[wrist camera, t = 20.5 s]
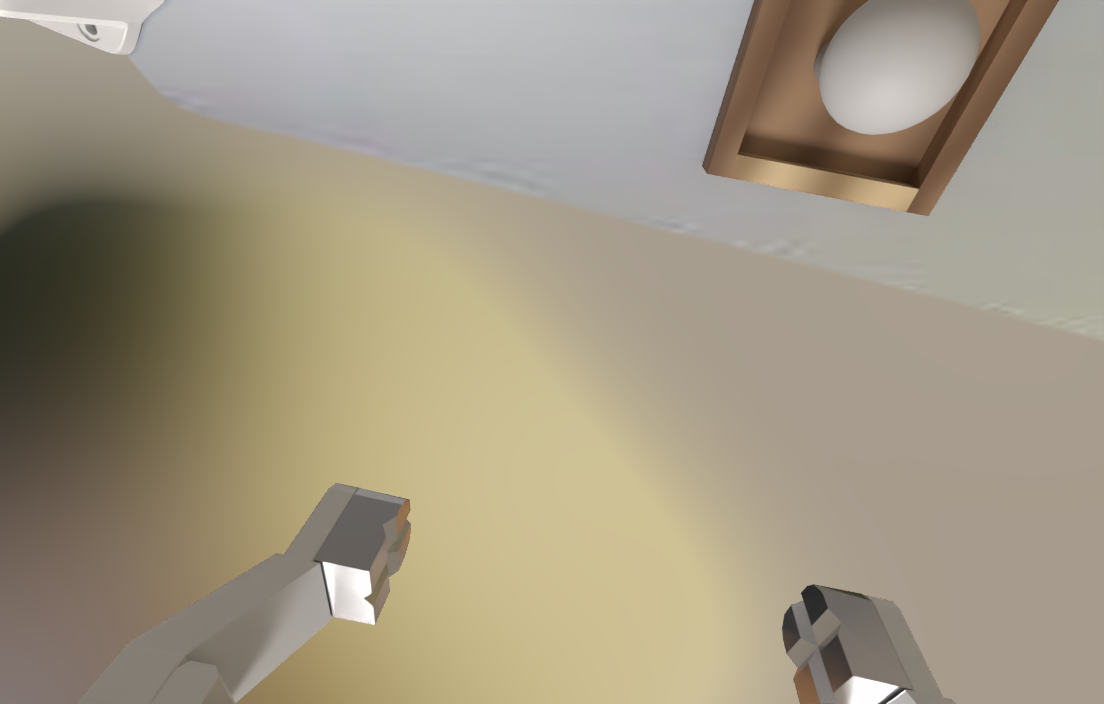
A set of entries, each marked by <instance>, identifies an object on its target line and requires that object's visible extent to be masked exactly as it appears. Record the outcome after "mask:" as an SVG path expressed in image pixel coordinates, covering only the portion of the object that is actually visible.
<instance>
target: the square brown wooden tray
mask: <svg viewBox="0 0 1104 704" xmlns="http://www.w3.org/2000/svg"><path fill="white" fill-rule="evenodd" d="M867 1H868V0H754V4H753V7H752V10H751V13H750V16H749V19H748V23H747V26H746V29H745V32H744V35H743V38H742V41H741V45H740V48H739V51H738V54H737V57H736V60H735V64H734V67H733V70H732V73H731V76H730V79H729V83H728V86H727V89H726V92H725V95H724V98H723V102H722V105H721V108H720V111H719V114H718V117H717V121H716V124H715V127H714V130H713V133H712V136H711V140H710V143H709V146H708V149H707V152H706V155H705V159H704V162H703V165H702V166H703V168H704V170H705V171H706V173H707V174H712V175H717V176H722V177H728V178H733V179H738V180H743V181H748V182H754V183H759V184H764V185H769V186H774V187H780V188H785V189H790V190H795V191H800V192H806V193H811V194H816V195H821V196H826V197H832V198H837V199H842V200H847V201H852V202H858V203H863V204H868V205H873V206H878V207H884V208H889V209H894V210H899V211H904V212H910V213H915V214H920V215H925V216H929V214H930V213H931V211H932V210H933V208H934V206H935V205H936V203H937V201H938V200H939V198H940V196H941V195H942V193H943V191H944V190H945V188H946V186H947V185H948V183H949V181H950V180H951V178H952V176H953V175H954V173H955V171H956V170H957V168H958V166H959V165H960V163H961V162H962V160H963V158H964V157H965V155H966V153H967V152H968V150H969V148H970V147H971V145H972V143H973V142H974V140H975V138H976V137H977V135H978V133H979V132H980V130H981V128H982V127H983V125H984V123H985V122H986V120H987V119H988V117H989V115H990V114H991V112H992V110H993V109H994V107H995V105H996V104H997V102H998V100H999V99H1000V97H1001V95H1002V94H1003V92H1004V90H1005V89H1006V87H1007V85H1008V84H1009V82H1010V80H1011V79H1012V77H1013V75H1014V74H1015V72H1016V71H1017V69H1018V67H1019V66H1020V64H1021V62H1022V61H1023V59H1024V57H1025V56H1026V54H1027V52H1028V51H1029V49H1030V47H1031V46H1032V44H1033V42H1034V41H1035V39H1036V37H1037V36H1038V34H1039V32H1040V31H1041V29H1042V28H1043V26H1044V24H1045V23H1046V21H1047V19H1048V18H1049V16H1050V14H1051V13H1052V11H1053V9H1054V8H1055V6H1056V4H1057V3H1058V1H1059V0H968V1H969V2H970V3H971V5H972V6H973V8H974V9H975V11H976V14H977V17H978V19H979V24H980V34H981V35H980V44H979V50H978V54H977V57H976V60H975V64H974V66H973V68H972V70H971V72H970V74H969V76H968V78H967V79H966V81H965V82H964V84H963V85H962V87H961V88H960V90H959V91H958V92H957V93H956V94H955V95H954V97H953V98H952V99H951V100H950V101H949V102H948V103H947V104H946V105H945V106H943V107H942V108H941V109H940V110H939V111H938V112H936V113H935V114H933V115H932V116H930V117H929V118H927V119H925V120H924V121H922V122H920V123H918V124H916V125H913V126H911V127H909V128H907V129H904V130H901V131H897V132H893V133H887V134H877V135H870V134H861V133H858V132H855V131H852V130H849V129H846V128H845V127H843V126H842V125H840V124H839V123H837V122H836V121H835V120H834V119H833V118H832V117H831V115H830V114H829V113H828V111H827V109H826V107H825V105H824V103H823V101H822V97H821V93H820V85H819V81H818V80H817V78H816V76H815V74H814V62H815V59H816V56H817V54H818V52H819V51H820V49H821V48H822V47H823V46H824V45H825V44H826V43H828V42H829V41H831V40H832V38H833V36H834V35H835V34H836V32H837V31H838V29H839V28H840V27H841V25H842V24H843V23H844V22H845V21H846V20H847V19H848V18H849V17H850V16H851V15H852V14H853V13H854V12H855V11H856V10H857V9H858V8H860V7H861V6H862V5H863V4H865V3H866V2H867Z"/></svg>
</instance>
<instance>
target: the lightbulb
mask: <svg viewBox="0 0 1104 704" xmlns="http://www.w3.org/2000/svg"><path fill="white" fill-rule="evenodd" d="M980 35H981V34H980V24H979V19H978V17H977V14H976V11H975V9H974V8H973V6H972V5H971V3H970V2H969V1H968V0H868V1H867V2H866V3H865V4H863V5H862V6H861V7H860V8H858V9H857V10H856V11H855V12H854V13H853V14H852V15H851V16H850V17H849V18H848V19H847V20H846V21H845V22H844V23H843V24H842V25H841V27H840V28H839V29H838V31H837V32H836V34H835V35H834V36H833V38H832V40H831V41H829V42H828V43H826V44H825V45H824V46H823V47H822V48H821V49H820V51H819V52H818V54H817V56H816V59H815V62H814V74H815V76H816V78H817V80H818V81H819V85H820V93H821V97H822V101H823V103H824V105H825V107H826V109H827V111H828V113H829V114H830V115H831V117H832V118H833V119H834V120H835V121H836V122H837V123H839V124H840V125H842V126H843V127H845V128H846V129H849V130H852V131H855V132H858V133H861V134H870V135H877V134H887V133H893V132H897V131H901V130H904V129H907V128H909V127H911V126H913V125H916V124H918V123H920V122H922V121H924V120H925V119H927V118H929V117H930V116H932V115H933V114H935V113H936V112H938V111H939V110H940V109H941V108H942V107H943V106H945V105H946V104H947V103H948V102H949V101H950V100H951V99H952V98H953V97H954V95H955V94H956V93H957V92H958V91H959V90H960V88H961V87H962V85H963V84H964V82H965V81H966V79H967V78H968V76H969V74H970V72H971V70H972V68H973V66H974V64H975V60H976V57H977V54H978V50H979V44H980Z"/></svg>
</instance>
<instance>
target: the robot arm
mask: <svg viewBox="0 0 1104 704" xmlns="http://www.w3.org/2000/svg"><path fill="white" fill-rule="evenodd" d="M164 1H165V0H0V16H3V17H11V18H23V19H27V20H30V21H32V22H34V23H37V24H39V25H42V26H44V27H47V28H49V29H52V30H54V31H57V32H59V33H62V34H64V35H66V36H69V37H71V38H74V39H76V40H79V41H81V42H84V43H86V44H89V45H91V46H94V47H96V48H99V49H101V50H104V51H106V52H109V53H113V54H122V55H128V54H130V53H131V52H132V51H133V50H134V48H135V46H136V43H137V40H138V37H139V33H140V29H141V25H142V23H143V21H144V20H145V18H146V17H147V16H148V15H149V14H151V13H152V12H153V11H154V10H156V9H157V8H158V7H159V6H160V5H161V4H162V3H163V2H164ZM94 25H95V26H96V28H97V30H96V29H95V26H94ZM409 512H410V500H409V499H405V498H401V497H396V496H392V495H388V494H383V493H379V492H374V491H369V490H365V489H362V488H358V487H353V486H348V485H344V484H339V483H335V484H334V485H333V486H332V487H330V488H329V489H328V491H327V492H326V493H325V495H324V496H323V498H322V499H321V501H320V502H319V503H318V505H317V506H316V508H315V510H314V511H313V512H312V514H311V515H310V517H309V518H308V520H307V521H306V523H305V524H304V526H303V527H302V529H301V530H300V532H299V533H298V535H297V536H296V537H295V539H294V540H293V542H292V543H291V545H290V546H289V548H288V549H287V551H286V552H285V554H284V555H283V554H278V553H276V554H274V555H273V556H271V557H269V558H268V559H266V560H264V561H263V562H261V563H259V564H258V565H256V566H254V567H253V568H251V569H249V570H248V571H246V572H244V573H243V574H241V575H240V576H238V577H236V578H235V579H233V580H231V581H230V582H228V583H227V584H225V585H223V586H222V587H220V588H218V589H216V590H215V591H213V592H212V593H210V594H208V595H206V596H205V597H203V598H202V599H200V600H198V601H197V602H195V603H193V604H192V605H190V606H188V607H187V608H185V609H183V610H182V611H180V612H178V613H177V614H175V615H173V616H172V617H170V618H169V619H167V620H165V621H164V622H162V623H160V624H159V625H157V626H155V627H154V628H152V629H150V630H149V631H147V632H146V633H144V634H142V635H141V636H139V637H137V638H136V639H134V640H132V641H131V642H129V643H128V644H127V645H126V646H125V647H124V649H123V650H122V651H121V652H120V653H119V655H118V656H117V657H116V658H115V659H114V660H113V662H112V663H111V664H110V665H109V666H108V668H107V669H106V670H105V671H104V672H103V674H102V675H101V676H100V677H99V678H98V680H97V681H96V682H95V683H94V684H93V685H92V687H91V688H90V689H89V690H88V691H87V693H86V694H85V695H84V696H83V697H82V698H81V700H80V701H79V702H78V703H77V704H236V702H237V701H238V700H239V699H241V698H242V697H243V696H244V695H245V694H246V693H248V692H249V691H250V690H251V689H252V688H253V687H255V686H256V685H257V684H258V683H259V682H260V681H261V680H262V679H264V678H265V677H266V676H267V675H268V674H270V673H271V672H272V671H273V670H274V669H275V668H276V667H278V666H279V665H280V664H281V663H282V662H283V661H284V660H286V659H287V658H288V657H289V656H290V655H291V654H292V653H294V652H295V651H296V650H297V649H298V648H299V647H301V645H303V644H304V643H305V642H306V641H308V640H309V639H310V638H311V637H312V636H313V635H314V634H315V633H317V632H318V631H319V630H320V629H321V628H323V627H324V626H325V625H326V624H327V623H328V622H329V621H331V617H337V618H342V619H347V620H352V621H358V622H363V623H368V624H374V625H375V624H376V621H377V619H378V617H379V615H380V612H381V610H382V608H383V605H384V603H385V601H386V599H387V596H388V594H389V592H390V587H389V577H390V576H391V575H393V574H394V573H396V572H397V571H398V570H399V569H400V566H401V564H402V562H403V559H404V557H405V554H406V550H407V547H408V543H409V539H410V531H411V528H410V527H411V524H410V523H409V521H408V520H407V519H406V518H407V516H408V514H409ZM801 594H802V598H803V601H801V602H798V603H796V604H792V605H791V606H790V607H789V609H788V610H787V611H786V613H785V614H784V620H783V626H782V632H783V641H784V645H785V649H786V653H787V655H788V656H789V657H790V659H791V660H792V661H793V662H794V664H795V665H796V666H797V667H798V669H797V672H796V674H795V676H794V683H795V687H796V690H797V694H798V698H799V702H800V704H956V703H955V702H954V701H953V700H952V699H948V698H944V697H943V695H942V693H941V691H940V689H939V687H938V686H937V683H936V681H935V679H934V677H933V675H932V673H931V671H930V669H929V667H928V665H927V663H926V661H925V659H924V657H923V655H922V653H921V651H920V649H919V647H918V645H917V643H916V641H915V639H914V637H913V635H912V633H911V631H910V629H909V627H908V625H907V623H906V621H905V619H904V617H903V615H902V613H901V611H900V609H899V608H898V607H897V605H896V604H895V603H894V602H892V601H889V600H886V599H882V598H876V597H871V596H866V595H862V594H860V593H855V592H850V591H845V590H839V589H834V588H830V587H825V586H819V585H814V584H813V585H809V586H807V587H806V588H805V589H804V590H803V591H802V592H801Z"/></svg>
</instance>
